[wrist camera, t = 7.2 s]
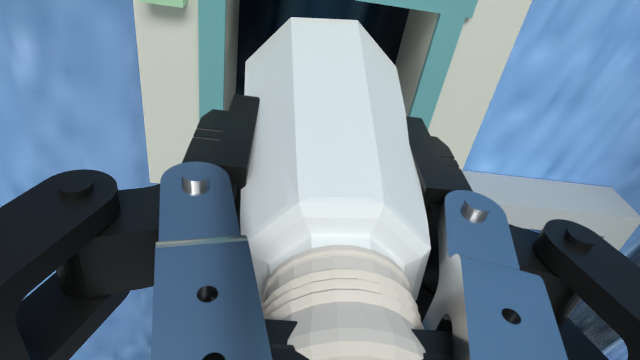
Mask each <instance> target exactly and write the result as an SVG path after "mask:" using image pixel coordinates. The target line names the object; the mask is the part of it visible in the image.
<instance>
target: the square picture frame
mask: <svg viewBox="0 0 640 360" xmlns="http://www.w3.org/2000/svg"><path fill="white" fill-rule="evenodd" d="M462 172H463V174H464V176H465V178H466V179H467V181H468V183H469V185H470V187H471V189H472V190H473V192H476V193H479V194H482V195H484V196H486V197H488V198H490V199H491V200H493V201H494V202H496V203H497V204H498V205H499V206H500V207H501V208H502V209H503V210H504V212H505V214H506V216H507V220H508V224H511V225H514V226H517V227H520V228H525V229H535V230H542V229H543V227H544V226H545V224H546V223H547V222H548V221H550V220H553V219H563V220H569V221H572V222H575V223H578V224H581V225H583V226H585V227H587V228H589V229H590V230H592V231H594V232H595V233H597V234H598V235H599V236H601V237H602V238H603V239H604V240H606V241H607V242H608V243H609V244H611V245H612V246H613V247H614V248H616V249H617V250H618V251H619V250H620V249H621V248H622V246H623V245H624V244H625V242H626V241H627V240H628V238H629V237H630V236H631V235H632V233H633V232H634V231H635V229H636V228H637V227H638V225H639V224H640V215H639V214H638V213H637V212H636V211H635V210H634V209H633V208H632V207H631V206H630V205H629V204H628V203H627V202H626V201H625V200H624V199H623V198H622V197H621V196H620V195H619V194H618V193H617V192H616V191H615V190H614V189H613V188H612V187H604V186H595V185H586V184H577V183H568V182H559V181H551V180H542V179H533V178H524V177H515V176H506V175H497V174H489V173H480V172H471V171H462ZM581 300H582V299H581ZM574 309H575V308H574ZM571 313H572V312H571ZM568 317H569V316H568Z"/></svg>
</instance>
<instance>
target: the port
mask: <svg viewBox="0 0 640 360" xmlns="http://www.w3.org/2000/svg"><path fill="white" fill-rule="evenodd" d="M357 1H363V2H370V3H376V4H382V5H389V6H395V7H402V8H408V9H410V10H409V13H408V17H407V21H406V25H405V29H404V33H403V36H402V40H401V44H400V48H399V52H398V56H397V59H396V63H395V66H396V67H397V72H398V77H399V82H400V87H401V92H402V97H403V102H404V107H405V111H406V116H409V117H417V118H422V120H423V122H424V124H425V126H426V128H427V130H428V132H429V134H430V136H435V137H438V138H439V139H440V140H441V141H442V142H444V143H445V144H446V145H447V146H448V147H449V148H450V150H451V152H452V154H453V156H454V157H455V158H454V160H456V161H457V163H458V165H459V169H461V170H462V169H463V167H464V164H465V162H466V159H467V157H468V154H469V152H470V150H471V147H472V145H473V142H474V140H475V138H476V135H477V133H478V130H479V128H480V125H481V123H482V121H483V118H484V116H485V113H486V111H487V109H488V106H489V104H490V101H491V99H492V96H493V94H494V92H495V89H496V87H497V84H498V82H499V80H500V77H501V75H502V72H503V70H504V67H505V65H506V63H507V60H508V58H509V55H510V53H511V50H512V48H513V46H514V43H515V41H516V38H517V36H518V34H519V31H520V29H521V26H522V24H523V21H524V19H525V17H526V14H527V12H528V9H529V7H530V5H531V2H532V0H357ZM239 3H240V0H133V6H134V16H135V27H136V38H137V48H138V59H139V70H140V80H141V91H142V101H143V112H144V123H145V133H146V144H147V155H148V165H149V176H150V182H151V183H160V180H161V177H162V175H163V173H164V172H165V171H166V170H168V169H169V168H171V167H173V166H175V165H177V164H181V163H182V161H183V159H184V156H185V154H186V152H187V149H188V147H189V144H190V142H191V140H192V138H193V135H194V133H195V130H196V129H197V126H198V123H199V121H200V119H201V117H202V116H203V115H205V114H206V113H208V112H209V111H211V110H212V109H216V110H225V111H229V108H230V105H231V102H232V99H233V96H234V94H236V75H237V51H238V27H239Z"/></svg>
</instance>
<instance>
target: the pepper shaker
mask: <svg viewBox="0 0 640 360" xmlns="http://www.w3.org/2000/svg"><path fill="white" fill-rule="evenodd" d="M244 95H246V96H254V97H259V99H260V103H259V109H258V115H257V121H256V127H255V133H254V139H253V145H252V151H251V158H250V164H249V170H248V176H247V182H246V186H245V187H244V188H242V189H241V201H240V230H241V235H246V236H247V239H248V242H249V247H250V252H251V257H252V262H253V266H254V271H255V276H256V281H257V286H258V291H259V296H260V301H261V306H262V311H263V315H264V319H272V320H287V321H297V322H298V323H297V325H296V327H295V328H294V330H293V332H292V333H291V335H290V337H289V339H288V342H287V345H293V346H294V348H295V351H297V352H299V353H300V354H302V355H304V356H305V357H307V358H308V359H309V360H422V359H424V358H423V353H426V352H425V349H424V347H423V346H422V345H421V343H420V342H419V340H418V339H417V337H416V336H415V334H414V333H413V332H412V330H411V329H420V330H424V326H423V325H422V323H421V317H420V314H419V312H418V306H417V304H416V302H415V300H417V297H418V293H419V290H420V286H421V283H422V279H423V275H424V272H425V268H426V265H427V261H428V257H429V254H430V250H431V245H430V236H429V228H428V220H427V215H426V210H425V205H424V200H423V195H422V190H421V185H420V181H419V177H418V173H417V170H416V166H415V163H414V159H413V156H412V152H411V149H410V145H409V138H408V129H407V121H406V111H405V107H404V102H403V97H402V92H401V87H400V82H399V77H398V72H397V67H396V66H395V65H394V64H393V63H392V61H391V60H390V59H389V58H388V56H387V55H386V54H385V53H384V52H383V50H382V49H381V48H380V47H379V46H378V44H377V43H376V42H375V41H374V40H373V38H372V37H371V36H370V35H369V33H368V32H367V31H366V30H365V29H364V27H363V26H362V25H361V24H360V23H359V21H358V20H344V19H322V18H300V17H291V18H290V19H289V20H287V21H286V22H285V23H284V24H283V25H282V26H281V27H280V28H279V29H278V30H277V31H276V32H275V33H274V34H273V35H272V36H271V37H270V38H269V39H268V40H267V41H266V42H265V43H264V44H263V45H262V46H261V47H260V48H259V49H258V50H257V51H256V52H255V53H254V54H253V55H252V56H251V57H250V58H249V59H248V60H247V61H246V63H245V91H244Z"/></svg>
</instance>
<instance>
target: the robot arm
mask: <svg viewBox="0 0 640 360" xmlns="http://www.w3.org/2000/svg"><path fill="white" fill-rule="evenodd" d="M259 103H260V99H259V97H254V96H246V95H238V94H234V96H233V99H232V102H231V105H230V108H229V111H225V110H216V109H212V110H211V111H209V112H208V113H206V114H205V115H203V116H202V117H201V119H200V121H199V123H198V126H197V129H196V130H195V133H194V135H193V138H192V140H191V142H190V144H189V147H188V149H187V152H186V154H185V156H184V159H183V161H182V163H181V164H177V165H175V166H173V167H171V168H169V169H168V170H166V171H165V172H164V173H163V175H162V177H161V180H160V184H158V185H155V186H151V187H145V188H137V189H127V190H118V188H117V183H116V181H115V180H114V179H113V178H112V177H111V176H110V175H108V174H106V173H103V172H100V171H95V170H72V171H67V172H63V173H60V174H57V175H54V176H52V177H50V178H48V179H46V180H44V181H43V182H41V183H40V184H38V185H36V186H35V187H33V188H31V189H30V190H28V191H27V192H25V193H23V194H22V195H20V196H18V197H17V198H15V199H14V200H12V201H10V202H9V203H7V204H5V205H4V206H2V207H1V208H0V360H69V359H70V358H71V357H72V356H73V355H74V354H75V352H76V351H77V350H78V349H79V348H80V347H81V346H82V345H83V344H84V343H85V342H86V341H87V339H88V338H89V337H90V336H91V335H92V334H93V333H94V332H95V331H96V330H97V329H98V327H99V326H100V325H101V324H102V323H103V322H104V321H105V320H106V319H107V318H108V317H109V316H110V314H111V313H112V312H113V311H114V310H115V309H116V308H117V307H118V306H119V305H120V304H121V302H122V301H123V300H124V299H125V298H126V297H127V295H128V294H129V292H130V290H136V289H141V288H147V287H152V286H154V295H153V323H152V350H151V360H309V359H308V358H307V357H305V356H304V355H302V354H300V353H299V352H297V351H295V348H294V346H293V345H287V342H288V339H289V337H290V335H291V333H292V332H293V330H294V328H295V327H296V325H297V323H298V322H297V321H287V320H272V319H264V315H263V311H262V306H261V301H260V296H259V291H258V286H257V281H256V276H255V271H254V266H253V262H252V257H251V252H250V247H249V242H248V239H247V236H246V235H241V230H240V201H241V189H242V188H244V187H245V186H246V182H247V176H248V170H249V164H250V158H251V151H252V145H253V139H254V133H255V127H256V121H257V115H258V109H259ZM406 121H407V129H408V138H409V145H410V149H411V152H412V156H413V159H414V163H415V166H416V170H417V173H418V177H419V181H420V185H421V190H422V195H423V200H424V205H425V210H426V215H427V220H428V228H429V236H430V245H431V250H430V254H429V257H428V261H427V265H426V268H425V272H424V275H423V279H422V283H421V286H420V290H419V293H418V297H417V300H415V302H416V304H417V306H418V312H419V314H420V317H421V323H422V325H423V326H424V330H420V329H411V330H412V332H413V333H414V334H415V336H416V337H417V339H418V340H419V342H420V343H421V345H422V346H423V347H424V349H425V352H426V353H423V358H424V359H422V360H609V359H608V358H607V357H606V356H605V355H604V354H603V353H602V352H601V351H600V350H599V349H598V348H597V347H596V346H595V345H594V344H593V343H592V342H591V341H590V340H589V339H588V338H587V337H586V336H585V335H584V334H583V333H582V332H581V331H580V330H579V329H578V328H577V327H576V325H575V324H574V323H573V322H572V321H571V320H570V319H569V318H568V316H569V315H570V314H571V312H572V311H573V310H574V308H575V307H576V306H577V305H578V303H579V302H580V301H581V299H582V300H583V301H584V302H585V303H586V304H587V305H588V306H589V307H591V308H592V309H593V310H594V311H595V312H596V313H597V314H598V315H599V316H600V317H601V318H602V319H603V320H604V321H605V322H606V323H607V324H608V325H609V326H610V327H611V328H612V329H613V330H614V331H616V332H617V333H618V334H619V335H620V337H621V338H622V339H623V340H624V342H625V344H626V346H627V349H628V359H627V360H640V268H639V267H638V266H637V265H636V264H634V263H633V262H632V261H631V260H629V259H628V258H627V257H626V256H624V255H623V254H622V253H621V252H619V251H618V250H617V249H616V248H614V247H613V246H612V245H611V244H609V243H608V242H607V241H606V240H604V239H603V238H602V237H601V236H599V235H598V234H597V233H595V232H594V231H592V230H590V229H589V228H587V227H585V226H583V225H581V224H578V223H575V222H572V221H569V220H563V219H553V220H550V221H548V222H547V223H546V224H545V226H544V227H543V229H542V231H541V232H540V234H539V233H536V232H533V231H530V230H526V229H523V228H520V227H517V226H514V225H511V224H508V220H507V216H506V214H505V212H504V210H503V209H502V208H501V207H500V206H499V205H498V204H497V203H496V202H494V201H493V200H491V199H490V198H488V197H486V196H484V195H482V194H479V193H476V192H473V190H472V189H471V187H470V185H469V183H468V181H467V179H466V178H465V176H464V174H463V172H462V170H461V169H459V165H458V163H457V161H456V160H454V158H455V157H454V156H453V154H452V152H451V150H450V148H449V147H448V146H447V145H446V144H445V143H444V142H442V141H441V140H440V139H439V138H438V137H435V136H430V134H429V132H428V130H427V128H426V126H425V124H424V122H423V120H422V118H417V117H409V116H406ZM55 270H56V273H55V274H53V275H52V276H51V277H50V278H49V279H47V280H46V281H45V282H44V283H43V284H42V285H40V286H39V287H38V288H37V289H36V290H35V291H33V292H32V293H31V294H30V295H29V296H27V297H26V298H25V299H24V297H25V296H26V295H27V294H28V293H29V292H30V291H31V290H33V289H34V288H35V287H36V286H37V285H39V284H40V283H41V282H42V281H43V280H44V279H46V278H47V277H48V276H49V275H50V274H52V273H53V272H54V271H55ZM23 299H24V300H23ZM22 300H23V301H22ZM21 301H22V302H21Z"/></svg>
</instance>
